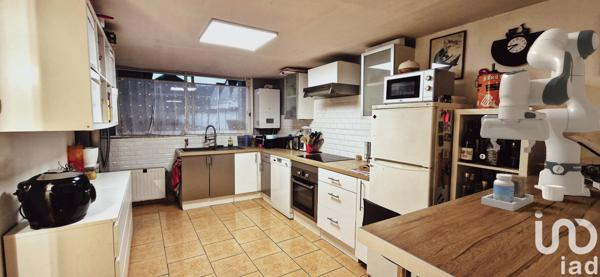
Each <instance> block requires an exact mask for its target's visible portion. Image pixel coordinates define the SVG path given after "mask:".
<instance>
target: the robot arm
mask: <svg viewBox="0 0 600 277" xmlns="http://www.w3.org/2000/svg"><path fill="white" fill-rule="evenodd" d="M599 44H600V37H599V34H598V33H597V31H596V30H594V29H584V30H580V31H574V32H569V33H568V32H567V31H566V30H564V29H562V28H557V27H556V28H554V27H553V28H550V29H547V30H546V31H544V32H542V34H540V35H539V36H538V37H537V38H536V39H535V41H534V42H533V44H532V45H531V46H529V49H528V52H527V54H526V61H527V63H528V65H529V66H530V67H532V69H535V70H537V71H548V72H551V73H550V77H548V78H538V79H531V77H530V71H529V70H528V69H518V70H512V71H506V72H504V73H503V74H502V76H501V79H500V83H499V90H498V91H499V92H498V95H499V96H498V97H499V104H498V113H497V114H486V115H484V116H482V117H481V120H480V121H481V122H480V123H481V128H480V133H479V134H480V137H481V138H482V139H483V138H485V139H486V138H487V139H490V143H491V144H492V146H493V150H494V151H500V149H501V148H500V147H501V145H499V144H497V140H498V139H499V140H501V139H503V140H519V141H527V143H528V146H526V147H523V153H525V154H531V153H532V148H533V146H535V144H536V141H539V142H541V141H542V142H543V141H544V143H545V147H546V149H545V151H546V152H545V155H546V156H545V158H546V159H545V160H544V164H543V165H544V166H543V168H544V169H542V170H541V171H540V172H539V176H538V177H539V178H538V184H534V187H533V188H536V189H537V190H541V191H542V184H553V185H559V186H563V187H565V192H564V196H565V195H566V196H576V197H577V196H579V197H582V196H583V197H591V192H590V189H589V188H587V184H585V176H584V175H583V174H582V173H581V171H582V163H581V152H582V148H581V145H580V144H579V143H577V142H575V141H573V140H571V139H569V138H565V136H564V134H563V133H590V132H598V131H600V108H599V107H597V106H595V105H594V104H593V103H592V101H590V100H589V98H588V96H587V94H586V65H585V61H586V60H587V59H588V57H589V56H591V55H593V53H595V52H596V51H597V50H598V46H599ZM563 104H566V106H567V107H565V108H563V107H562V108H559V107H558V108H542V109H538V110H533V109H530V106H562V105H563Z"/></svg>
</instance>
